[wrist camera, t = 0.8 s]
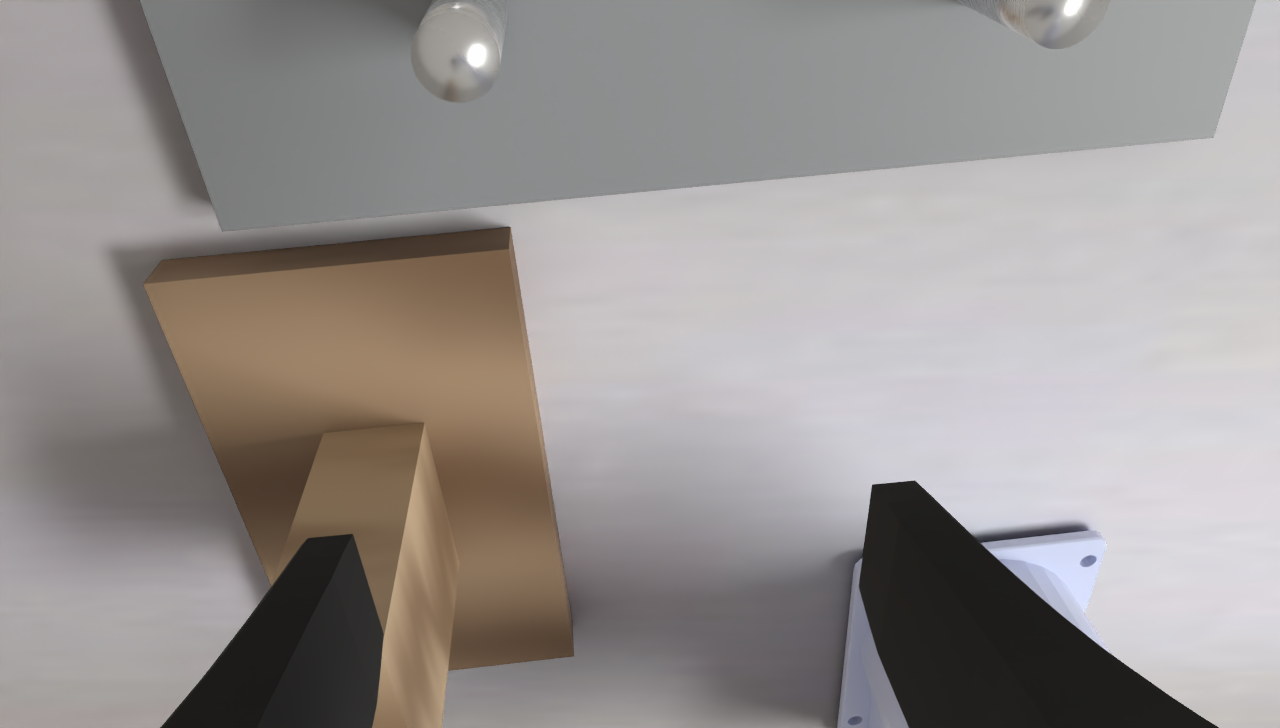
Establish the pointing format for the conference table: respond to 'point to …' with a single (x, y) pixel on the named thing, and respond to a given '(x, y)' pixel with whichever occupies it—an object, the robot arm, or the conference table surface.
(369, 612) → the robot arm
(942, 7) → the peg stand
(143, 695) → the conference table surface
